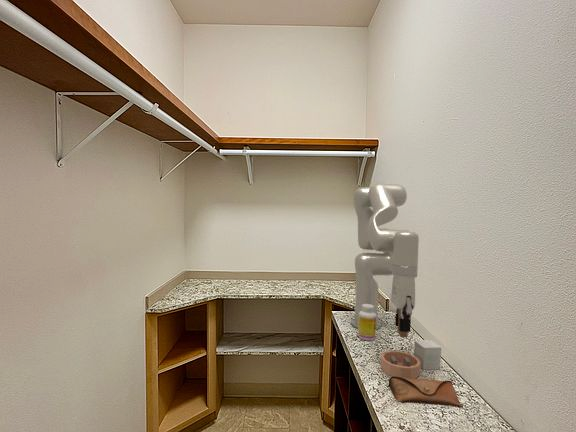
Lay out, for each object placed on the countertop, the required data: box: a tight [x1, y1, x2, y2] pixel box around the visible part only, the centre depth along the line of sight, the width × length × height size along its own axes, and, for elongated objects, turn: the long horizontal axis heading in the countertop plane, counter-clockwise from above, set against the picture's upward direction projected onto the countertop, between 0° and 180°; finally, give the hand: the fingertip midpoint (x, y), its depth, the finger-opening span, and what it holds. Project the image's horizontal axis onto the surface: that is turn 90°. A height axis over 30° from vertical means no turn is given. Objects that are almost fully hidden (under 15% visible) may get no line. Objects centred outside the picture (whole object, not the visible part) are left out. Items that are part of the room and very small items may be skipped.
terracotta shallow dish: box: [380, 350, 422, 379], centre depth 106 cm, size 12×12×4 cm
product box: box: [413, 339, 442, 371], centre depth 109 cm, size 6×6×7 cm
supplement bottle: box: [357, 304, 377, 341], centre depth 131 cm, size 7×7×13 cm
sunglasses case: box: [388, 376, 464, 408], centre depth 92 cm, size 18×7×7 cm
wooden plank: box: [397, 307, 409, 339], centre depth 105 cm, size 4×2×10 cm, turn 177°
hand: (402, 328), depth 105 cm, fingers closed on wooden plank, 3 cm apart
